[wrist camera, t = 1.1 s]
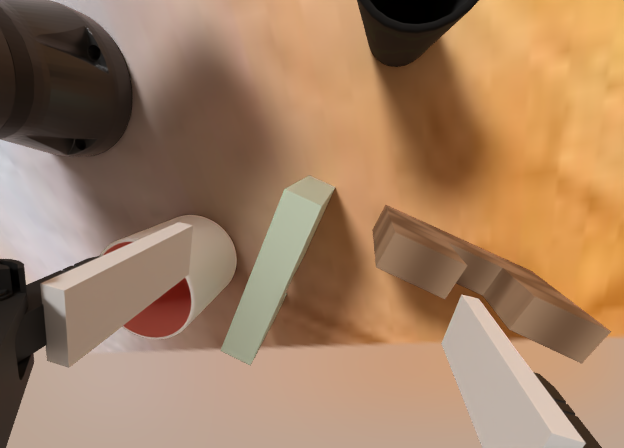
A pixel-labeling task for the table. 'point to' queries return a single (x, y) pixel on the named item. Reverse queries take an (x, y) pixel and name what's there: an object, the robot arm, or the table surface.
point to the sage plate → (276, 265)
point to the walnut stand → (484, 283)
